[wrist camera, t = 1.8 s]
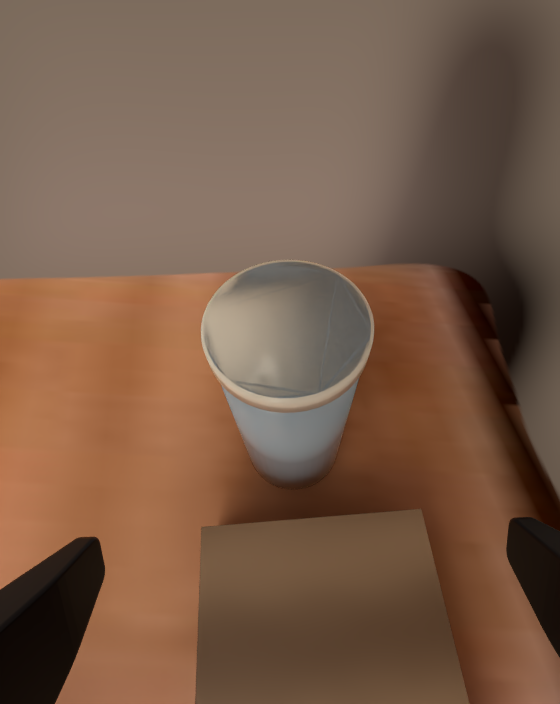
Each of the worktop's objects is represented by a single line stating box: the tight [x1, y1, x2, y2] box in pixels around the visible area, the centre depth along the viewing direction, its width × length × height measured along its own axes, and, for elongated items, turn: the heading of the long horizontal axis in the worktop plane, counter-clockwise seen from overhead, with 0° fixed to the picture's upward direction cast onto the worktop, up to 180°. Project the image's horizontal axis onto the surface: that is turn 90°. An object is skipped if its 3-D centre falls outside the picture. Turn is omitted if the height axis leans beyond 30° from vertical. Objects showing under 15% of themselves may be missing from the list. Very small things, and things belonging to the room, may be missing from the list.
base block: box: [195, 509, 469, 704], centre depth 16 cm, size 10×10×3 cm
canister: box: [201, 260, 374, 489], centre depth 17 cm, size 5×5×12 cm
